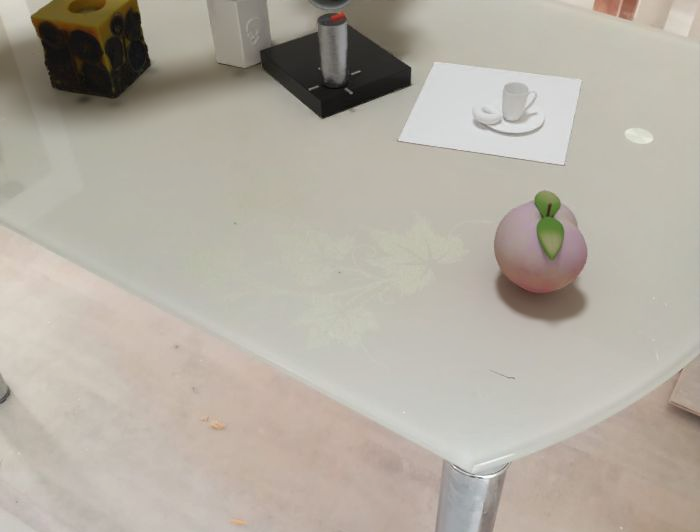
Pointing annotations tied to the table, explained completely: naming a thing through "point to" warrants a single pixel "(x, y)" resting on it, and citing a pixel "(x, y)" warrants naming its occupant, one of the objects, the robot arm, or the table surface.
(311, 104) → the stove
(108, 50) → the candle
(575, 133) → the table surface
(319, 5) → the ceramic mug
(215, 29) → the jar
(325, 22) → the silver cylinder
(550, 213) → the decorative fruit
